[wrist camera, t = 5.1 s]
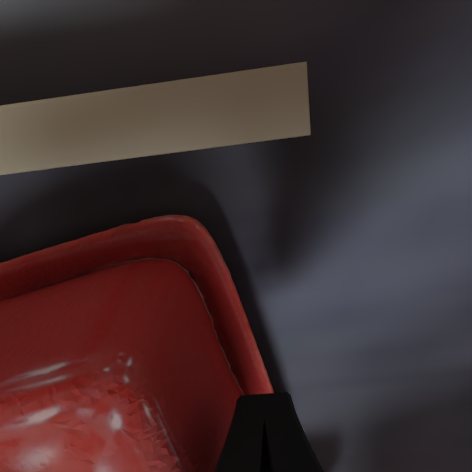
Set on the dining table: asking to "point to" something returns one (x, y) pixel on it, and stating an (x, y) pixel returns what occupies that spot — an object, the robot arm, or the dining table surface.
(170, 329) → the butter dish
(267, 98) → the bar
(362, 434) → the dining table surface
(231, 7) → the dining table surface
